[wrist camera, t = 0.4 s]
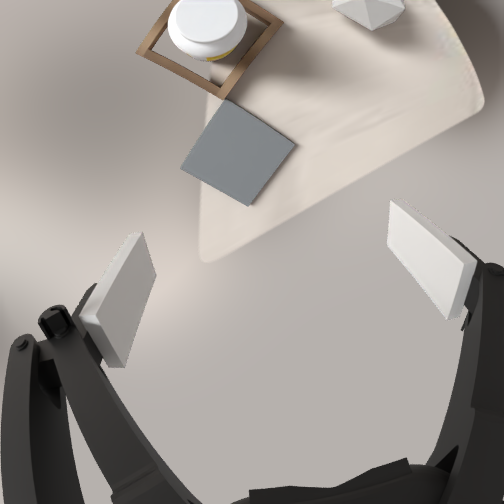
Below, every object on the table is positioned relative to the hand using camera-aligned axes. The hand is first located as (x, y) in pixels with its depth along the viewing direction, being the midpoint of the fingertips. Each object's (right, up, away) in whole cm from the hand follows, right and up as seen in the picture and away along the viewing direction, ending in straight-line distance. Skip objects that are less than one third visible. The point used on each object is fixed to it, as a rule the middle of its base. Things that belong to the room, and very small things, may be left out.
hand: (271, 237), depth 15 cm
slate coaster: (-3, +11, +20) cm, 23 cm away
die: (+11, +30, +10) cm, 33 cm away
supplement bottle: (-6, +23, +12) cm, 27 cm away
